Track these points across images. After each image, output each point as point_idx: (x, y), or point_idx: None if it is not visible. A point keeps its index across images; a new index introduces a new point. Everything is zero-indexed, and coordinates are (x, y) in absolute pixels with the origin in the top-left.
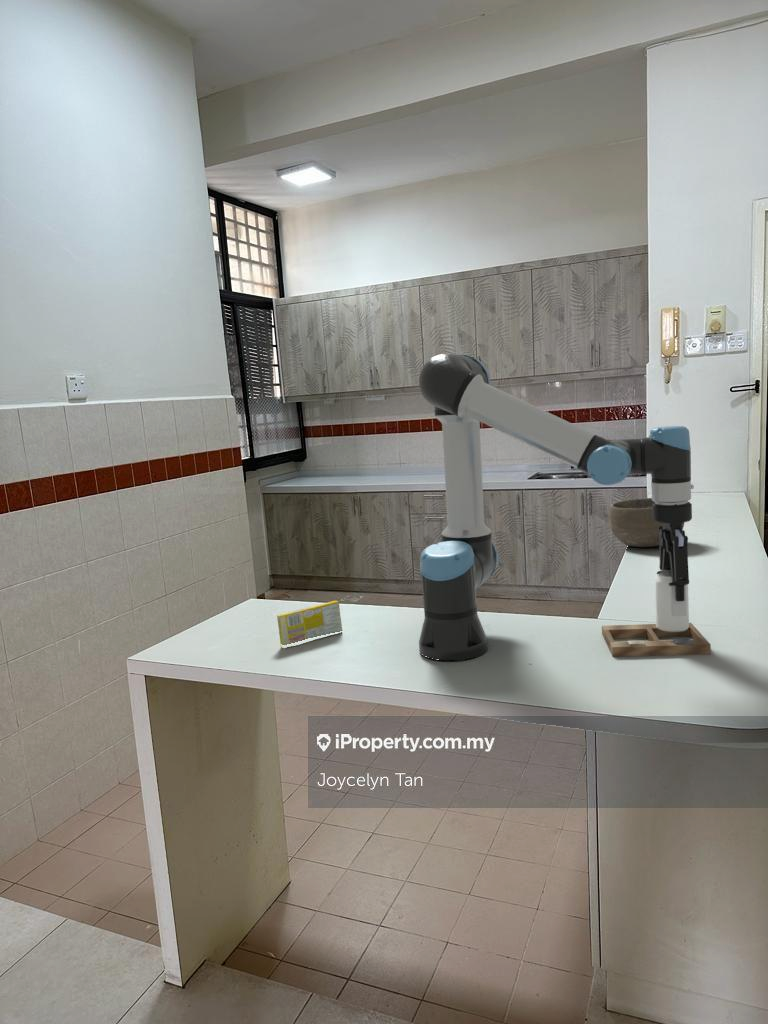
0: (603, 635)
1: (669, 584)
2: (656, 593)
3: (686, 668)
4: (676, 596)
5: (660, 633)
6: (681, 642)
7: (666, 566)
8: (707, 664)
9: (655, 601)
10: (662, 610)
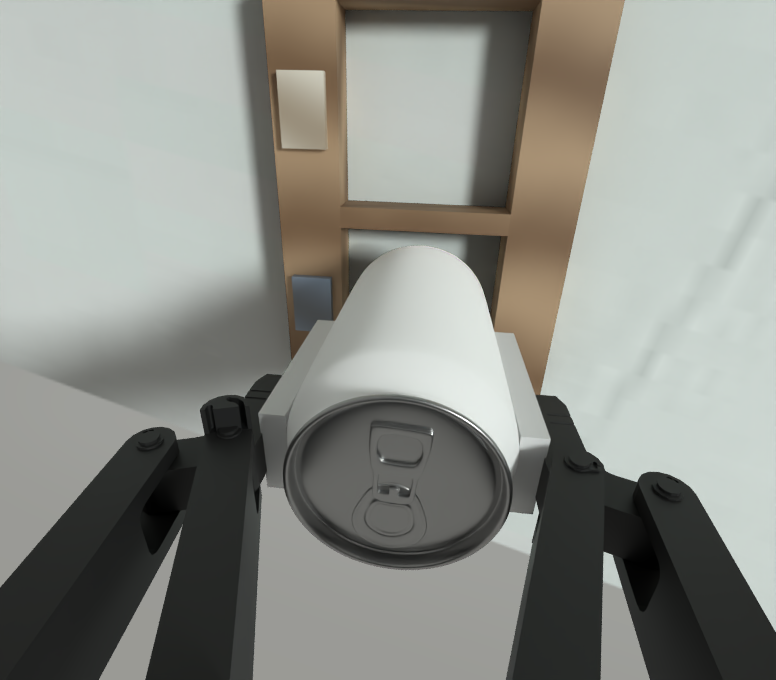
0: None
1: (225, 401)
2: (386, 308)
3: (171, 254)
4: (263, 389)
5: (498, 267)
6: (294, 296)
7: (539, 525)
8: (212, 325)
9: (414, 285)
10: (356, 292)
